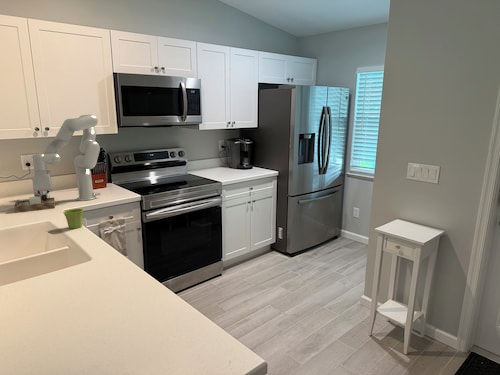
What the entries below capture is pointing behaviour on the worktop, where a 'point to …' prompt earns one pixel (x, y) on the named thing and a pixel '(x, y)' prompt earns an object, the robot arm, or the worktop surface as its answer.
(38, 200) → the cream block
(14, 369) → the worktop surface
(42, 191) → the candy bar box
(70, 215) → the plant pot
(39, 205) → the box
